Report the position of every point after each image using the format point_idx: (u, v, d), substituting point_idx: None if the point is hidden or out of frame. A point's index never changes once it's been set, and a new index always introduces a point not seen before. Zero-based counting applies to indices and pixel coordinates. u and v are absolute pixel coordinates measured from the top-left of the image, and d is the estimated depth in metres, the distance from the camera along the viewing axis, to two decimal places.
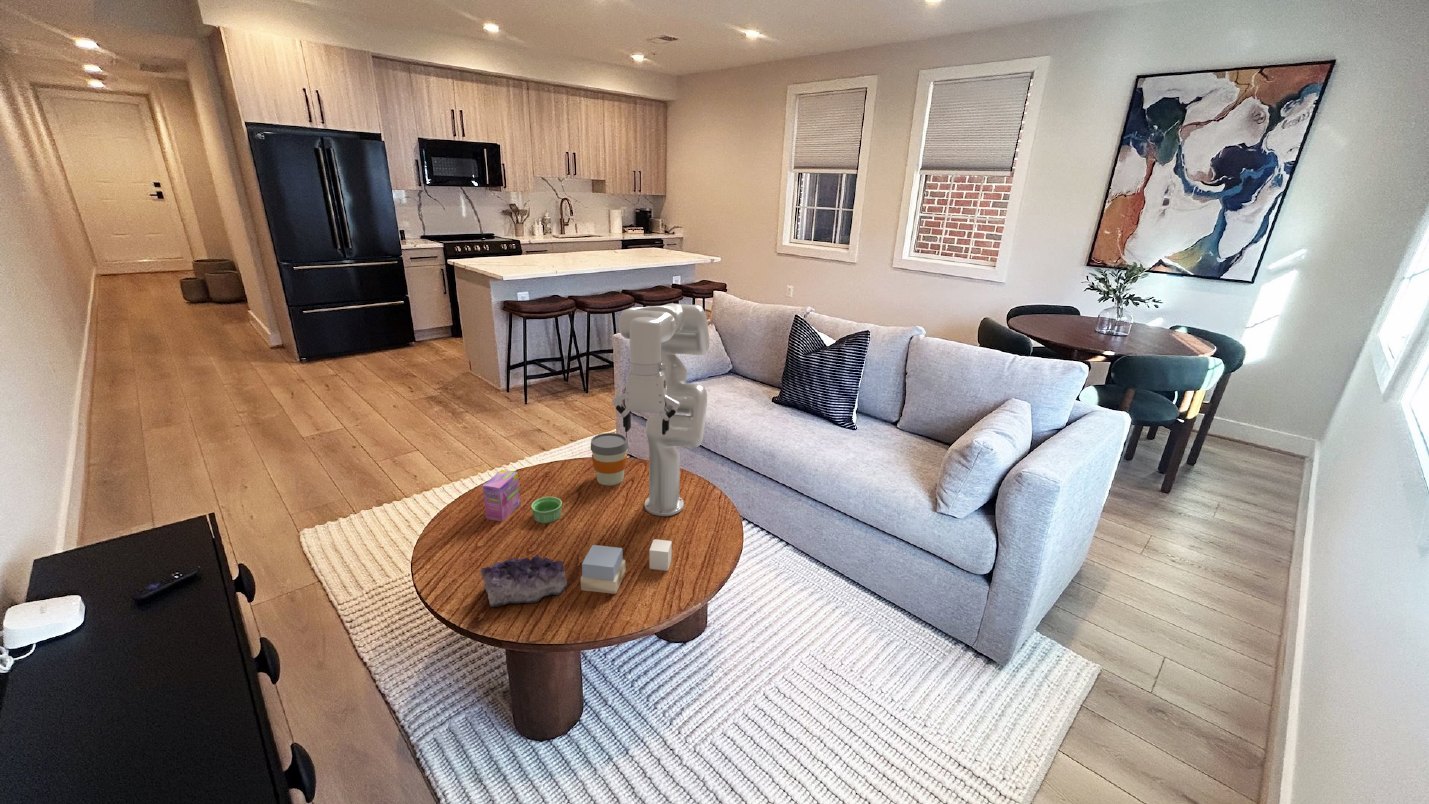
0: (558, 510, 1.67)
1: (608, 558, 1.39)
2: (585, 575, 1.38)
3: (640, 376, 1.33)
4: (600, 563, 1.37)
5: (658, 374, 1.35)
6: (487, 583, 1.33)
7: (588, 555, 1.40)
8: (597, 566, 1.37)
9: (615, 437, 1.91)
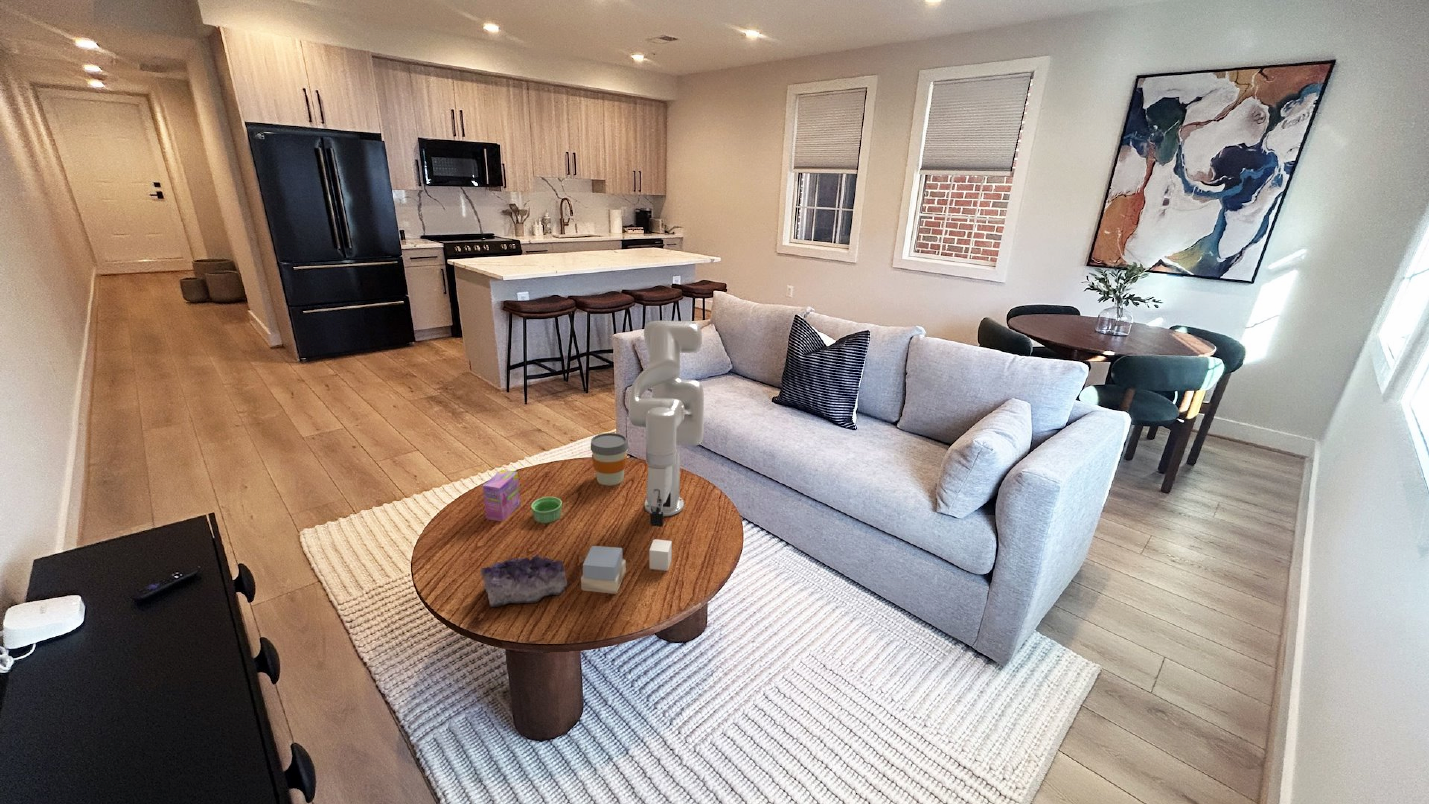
0: (558, 510, 1.67)
1: (609, 559, 1.39)
2: (586, 576, 1.38)
3: (675, 462, 1.38)
4: (601, 564, 1.37)
5: None
6: (487, 583, 1.33)
7: (588, 556, 1.40)
8: (598, 566, 1.36)
9: (615, 437, 1.91)
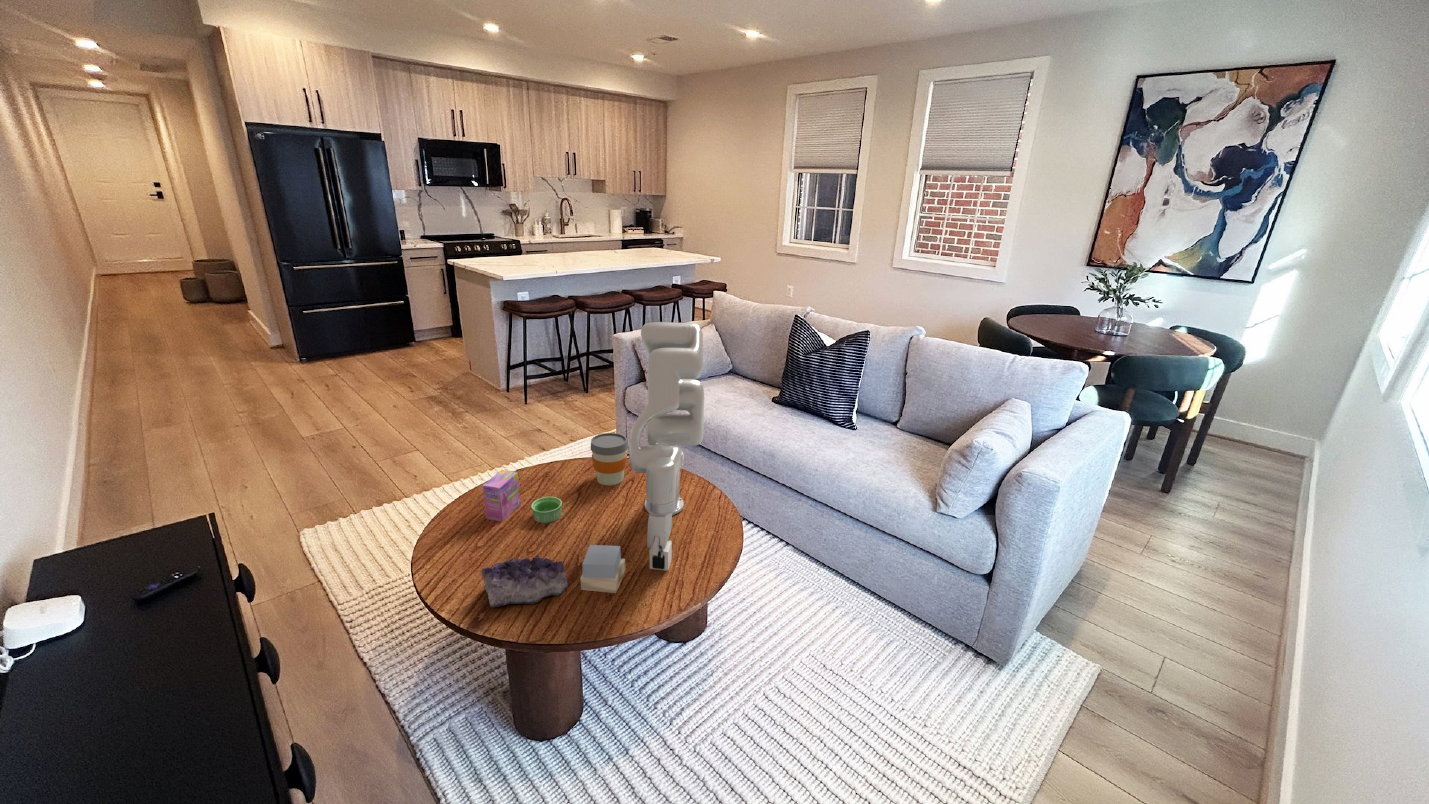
0: (558, 510, 1.67)
1: (608, 557, 1.40)
2: (586, 575, 1.38)
3: (674, 509, 1.43)
4: (601, 562, 1.37)
5: None
6: (487, 584, 1.33)
7: (587, 555, 1.40)
8: (598, 565, 1.37)
9: (615, 437, 1.91)
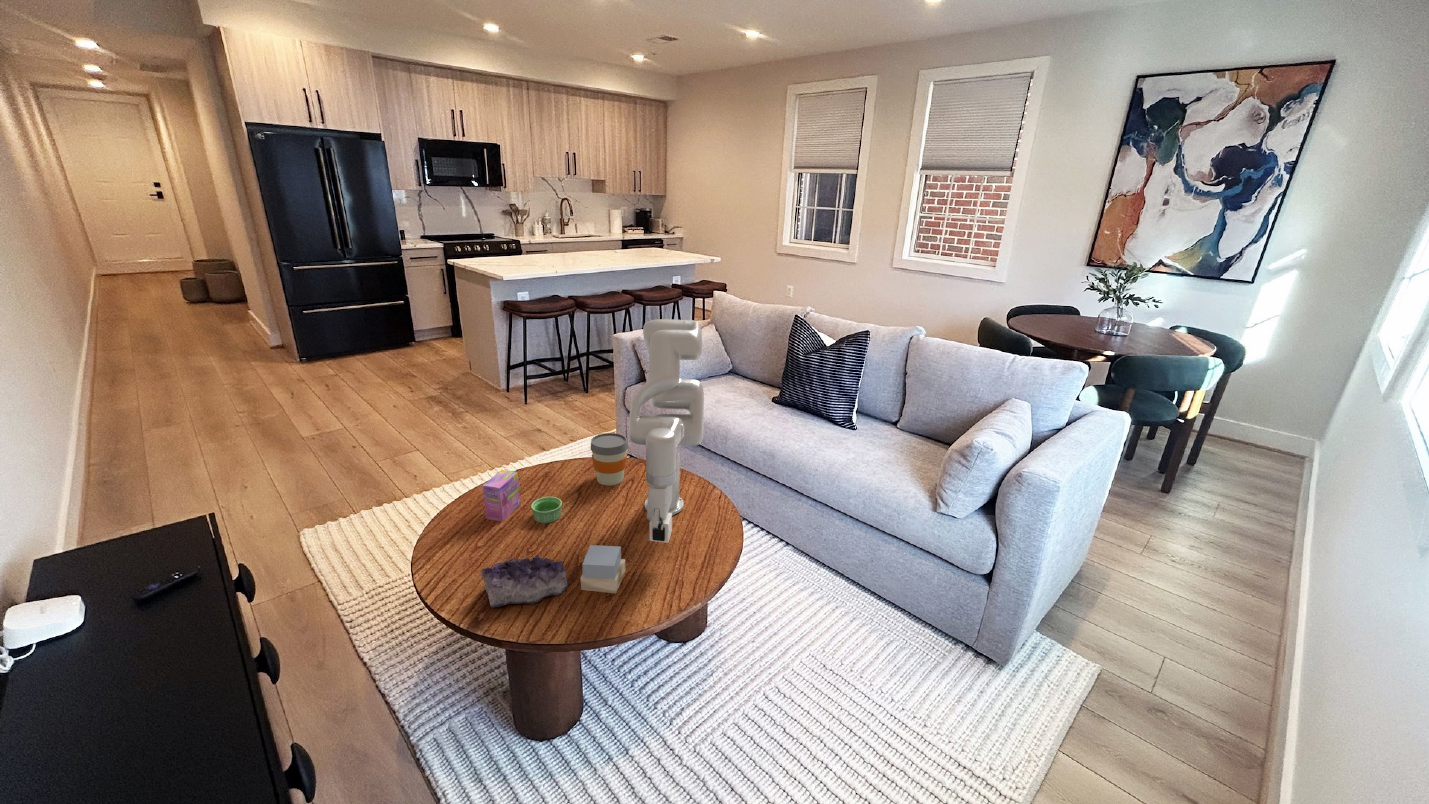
0: (558, 510, 1.67)
1: (608, 557, 1.39)
2: (586, 575, 1.38)
3: (675, 481, 1.40)
4: (601, 563, 1.37)
5: None
6: (487, 584, 1.33)
7: (587, 555, 1.40)
8: (598, 565, 1.37)
9: (615, 437, 1.91)
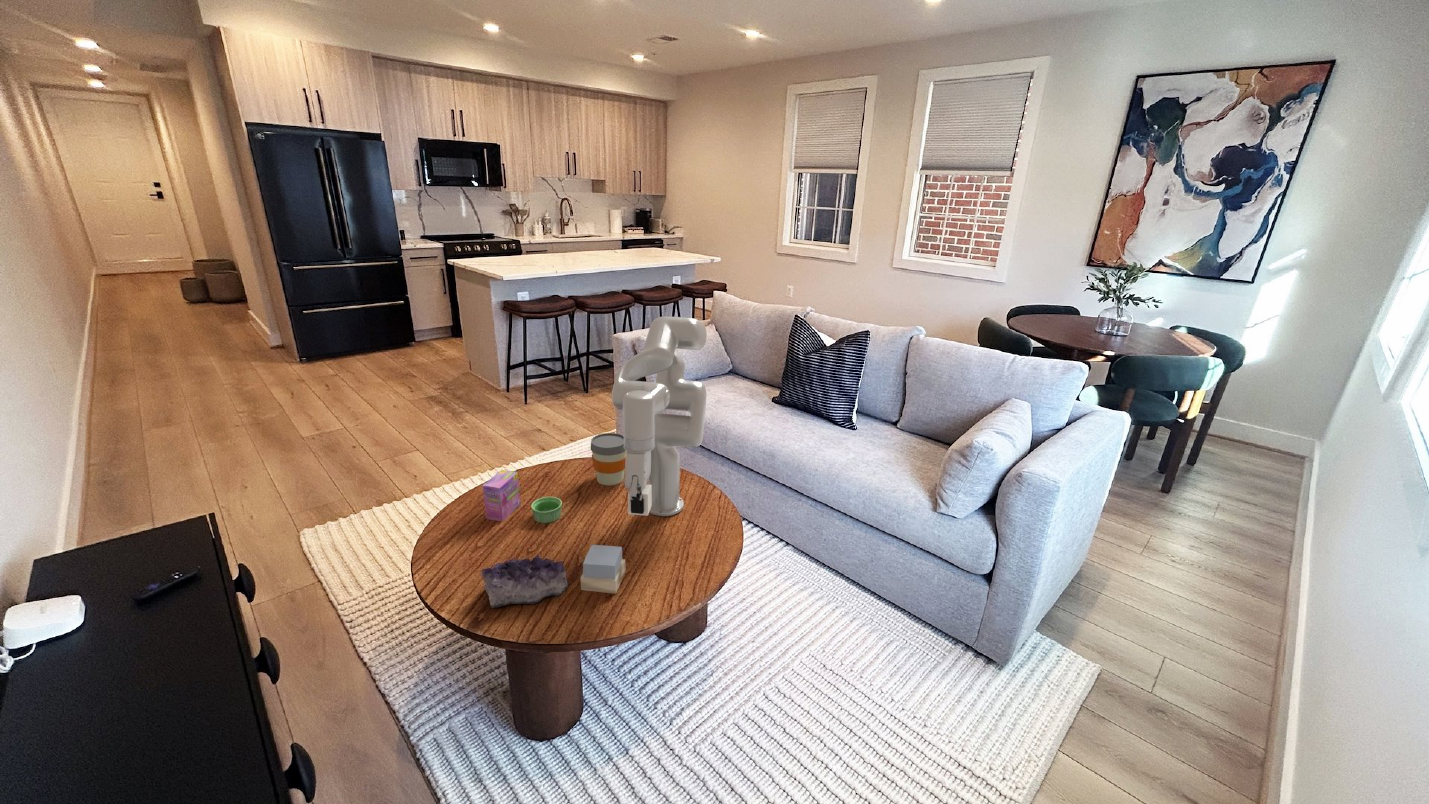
0: (558, 510, 1.67)
1: (609, 557, 1.39)
2: (586, 575, 1.38)
3: (654, 447, 1.34)
4: (601, 563, 1.37)
5: None
6: (488, 584, 1.32)
7: (588, 555, 1.40)
8: (598, 565, 1.37)
9: (615, 437, 1.91)
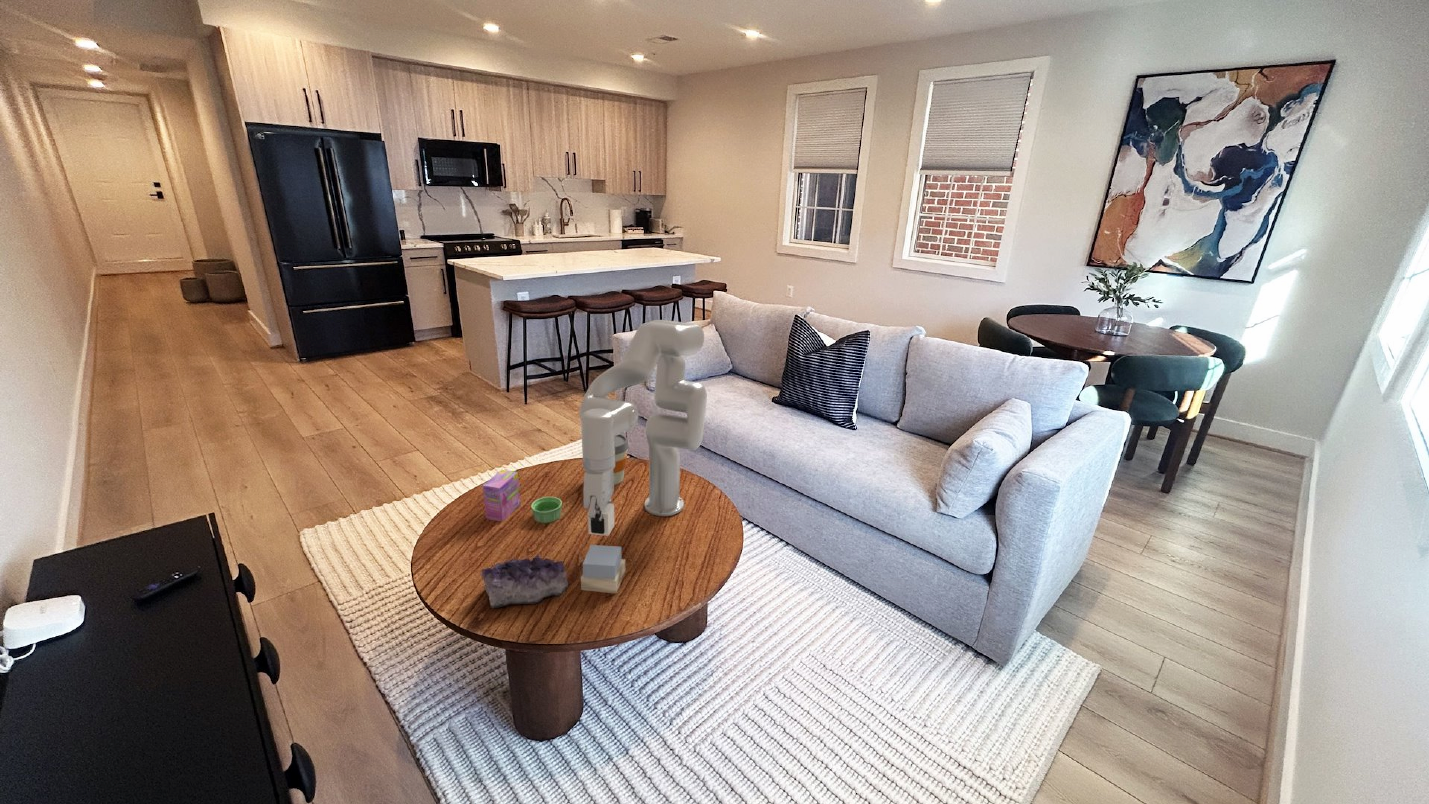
0: (558, 510, 1.67)
1: (608, 557, 1.39)
2: (586, 575, 1.38)
3: (614, 466, 1.30)
4: (601, 563, 1.37)
5: None
6: (488, 584, 1.32)
7: (588, 555, 1.40)
8: (598, 565, 1.37)
9: (615, 437, 1.91)
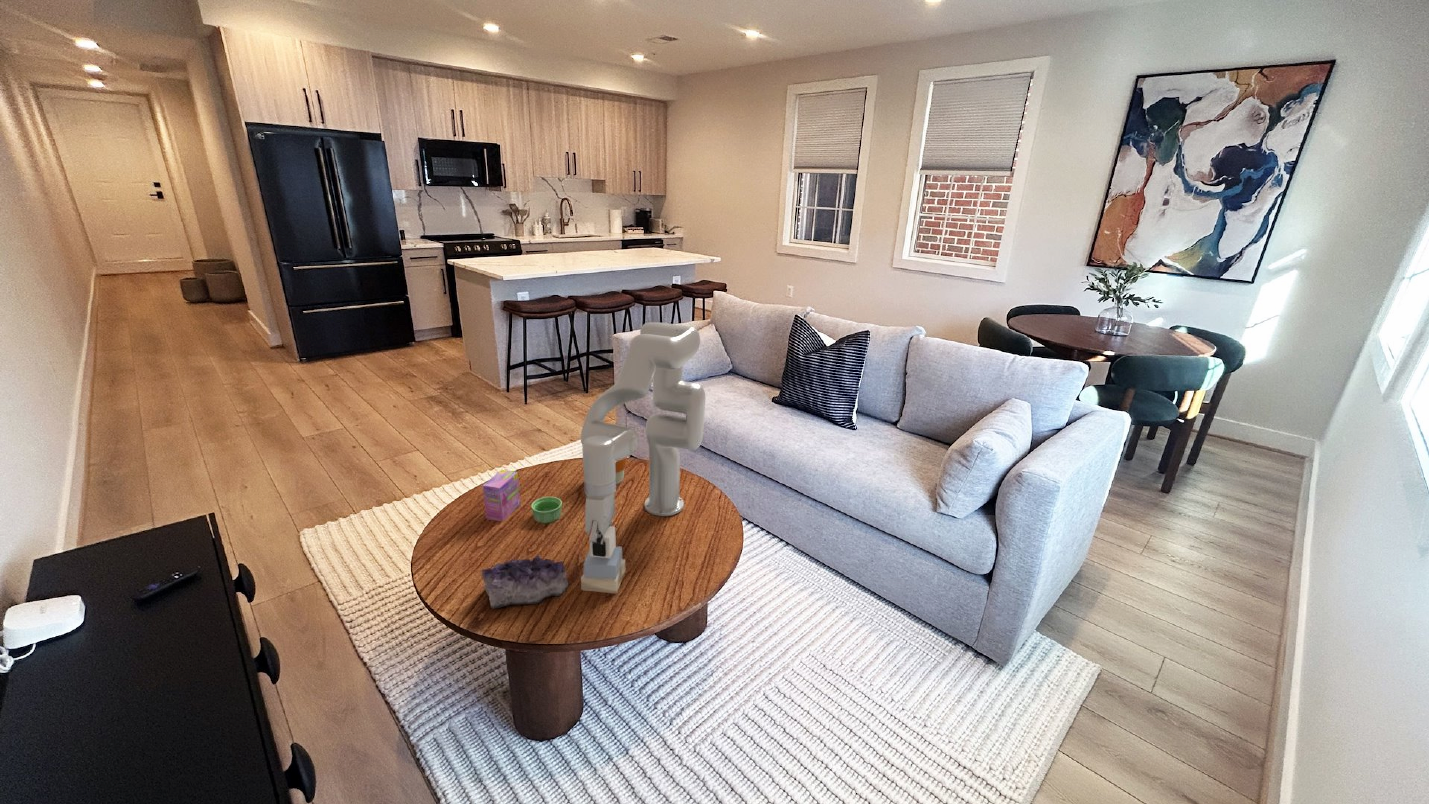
0: (558, 510, 1.67)
1: None
2: (587, 575, 1.38)
3: (615, 491, 1.33)
4: (602, 563, 1.37)
5: None
6: (488, 584, 1.32)
7: (588, 555, 1.40)
8: (599, 565, 1.37)
9: None
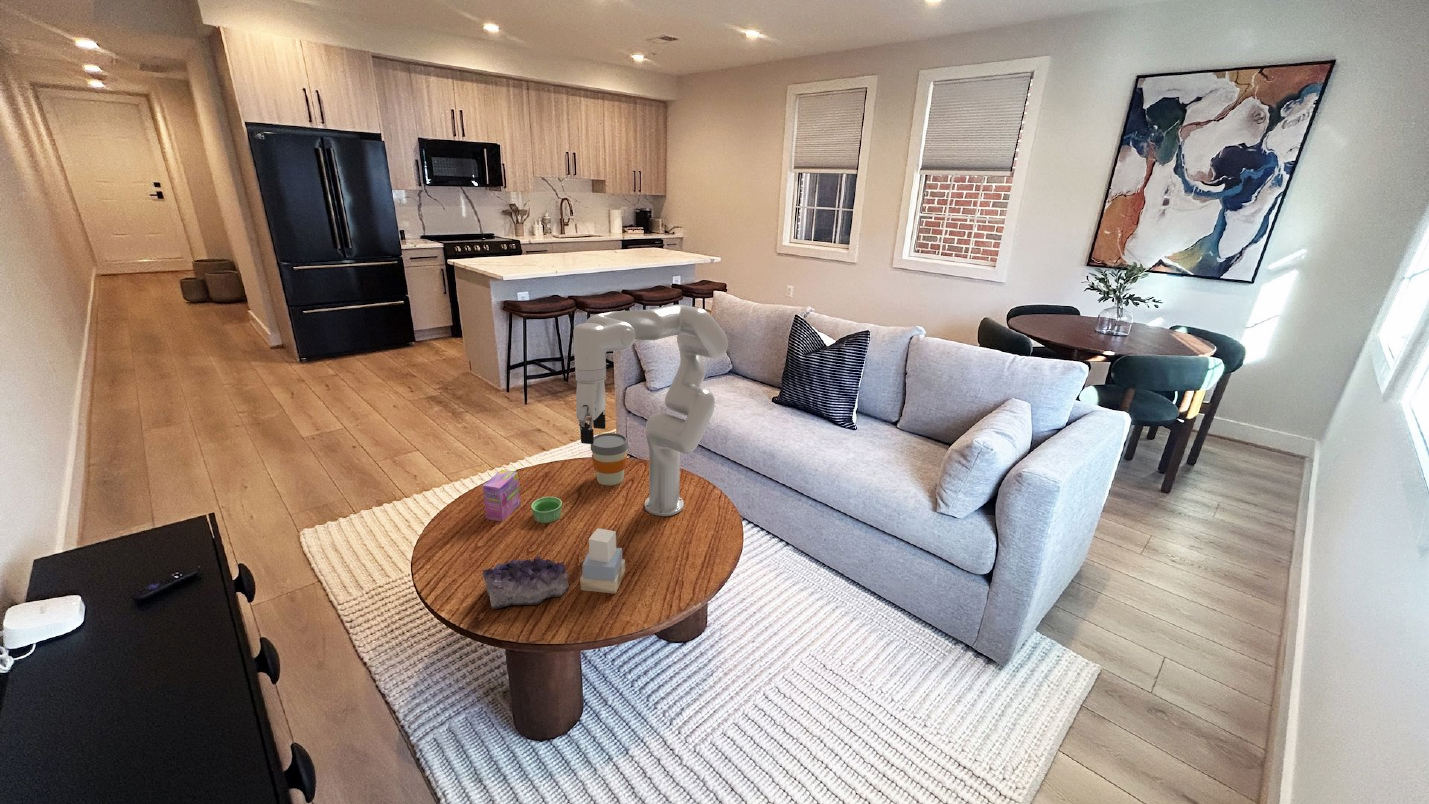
0: (558, 510, 1.67)
1: None
2: (586, 576, 1.38)
3: (605, 379, 1.38)
4: (601, 564, 1.37)
5: None
6: (489, 585, 1.32)
7: (588, 556, 1.40)
8: (597, 566, 1.36)
9: (615, 437, 1.91)
